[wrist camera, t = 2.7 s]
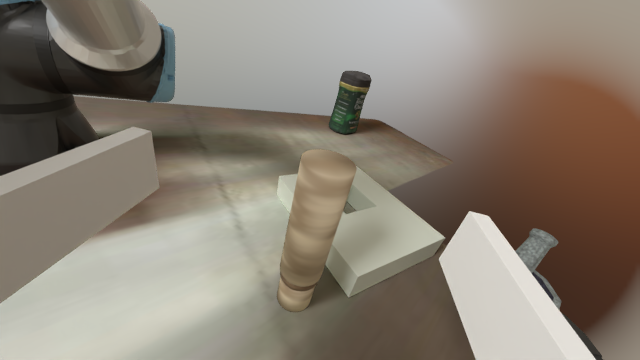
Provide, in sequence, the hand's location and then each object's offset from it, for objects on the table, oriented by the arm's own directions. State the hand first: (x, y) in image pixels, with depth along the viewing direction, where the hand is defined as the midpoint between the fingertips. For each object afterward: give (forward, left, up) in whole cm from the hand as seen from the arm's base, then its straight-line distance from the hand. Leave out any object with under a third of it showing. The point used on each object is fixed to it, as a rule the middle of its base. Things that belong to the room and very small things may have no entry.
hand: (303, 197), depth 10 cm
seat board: (-15, +22, -21) cm, 34 cm away
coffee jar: (-54, +49, -21) cm, 76 cm away
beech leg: (-7, +7, -21) cm, 23 cm away
